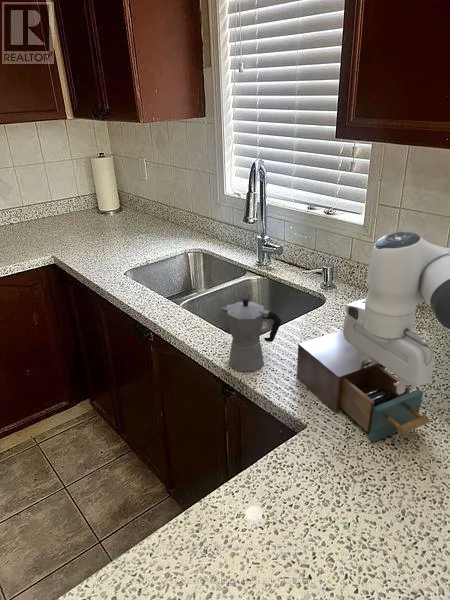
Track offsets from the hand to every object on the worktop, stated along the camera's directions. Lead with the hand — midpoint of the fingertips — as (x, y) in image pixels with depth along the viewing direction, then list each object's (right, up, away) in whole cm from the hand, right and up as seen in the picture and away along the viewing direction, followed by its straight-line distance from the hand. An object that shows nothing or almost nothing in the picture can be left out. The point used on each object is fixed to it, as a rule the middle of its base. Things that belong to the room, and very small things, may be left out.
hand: (381, 379), depth 89 cm
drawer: (+1, -9, +3) cm, 9 cm away
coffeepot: (-25, 0, +24) cm, 34 cm away
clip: (0, -7, +3) cm, 8 cm away
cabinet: (-5, -4, +14) cm, 16 cm away
